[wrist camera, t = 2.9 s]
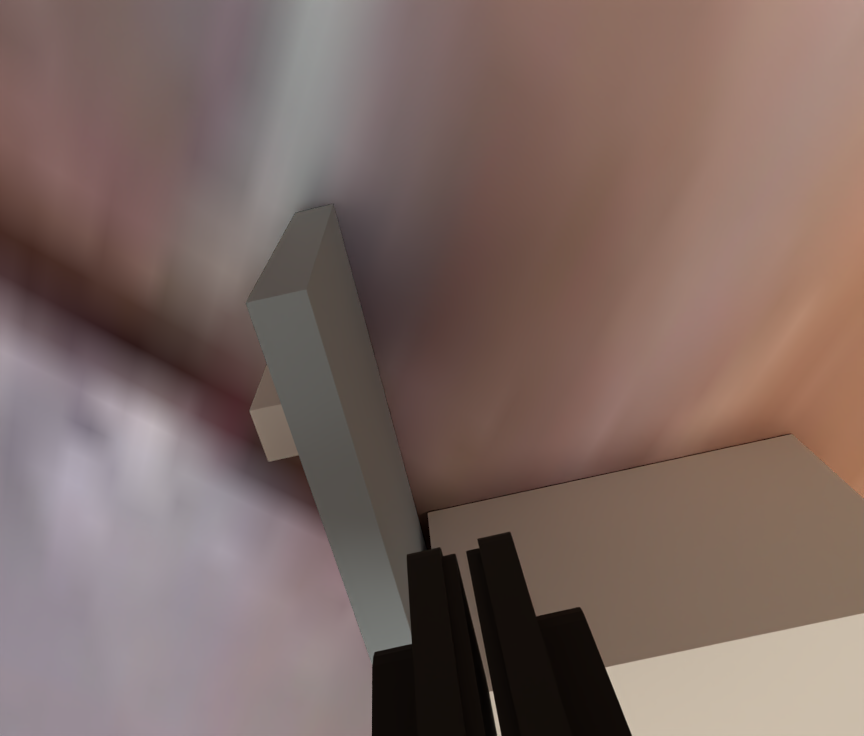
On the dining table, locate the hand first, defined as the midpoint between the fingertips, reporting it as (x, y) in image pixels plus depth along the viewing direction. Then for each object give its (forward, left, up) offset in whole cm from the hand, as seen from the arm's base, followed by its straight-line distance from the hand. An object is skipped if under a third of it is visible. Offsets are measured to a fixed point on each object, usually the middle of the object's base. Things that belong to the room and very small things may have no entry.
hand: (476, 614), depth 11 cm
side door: (+9, -3, -9) cm, 13 cm away
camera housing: (+13, +5, -10) cm, 17 cm away
